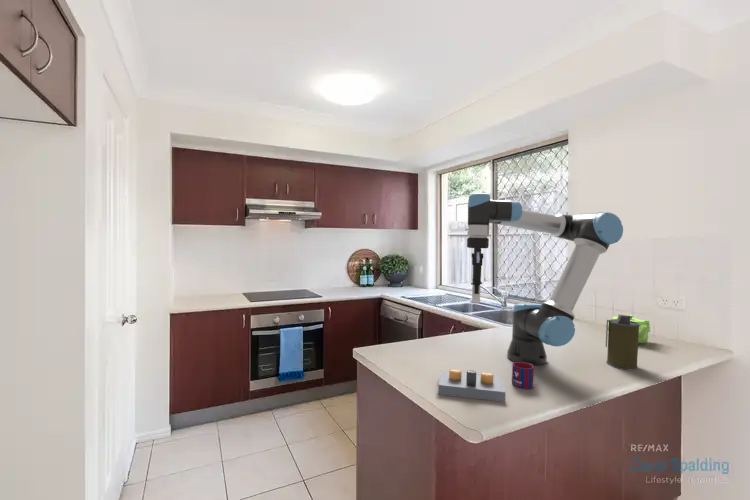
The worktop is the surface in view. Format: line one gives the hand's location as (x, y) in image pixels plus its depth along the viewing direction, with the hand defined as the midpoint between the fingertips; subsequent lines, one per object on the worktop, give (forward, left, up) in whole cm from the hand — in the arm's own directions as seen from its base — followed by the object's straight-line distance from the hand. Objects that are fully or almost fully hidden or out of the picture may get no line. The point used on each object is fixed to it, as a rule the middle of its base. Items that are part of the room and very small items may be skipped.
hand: (475, 302), depth 133 cm
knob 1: (+6, +14, -26) cm, 30 cm away
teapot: (-77, -66, -27) cm, 105 cm away
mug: (-17, +4, -27) cm, 32 cm away
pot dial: (+2, +18, -23) cm, 29 cm away
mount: (+2, +14, -26) cm, 30 cm away
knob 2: (-3, +14, -26) cm, 30 cm away
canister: (-58, -27, -27) cm, 69 cm away
